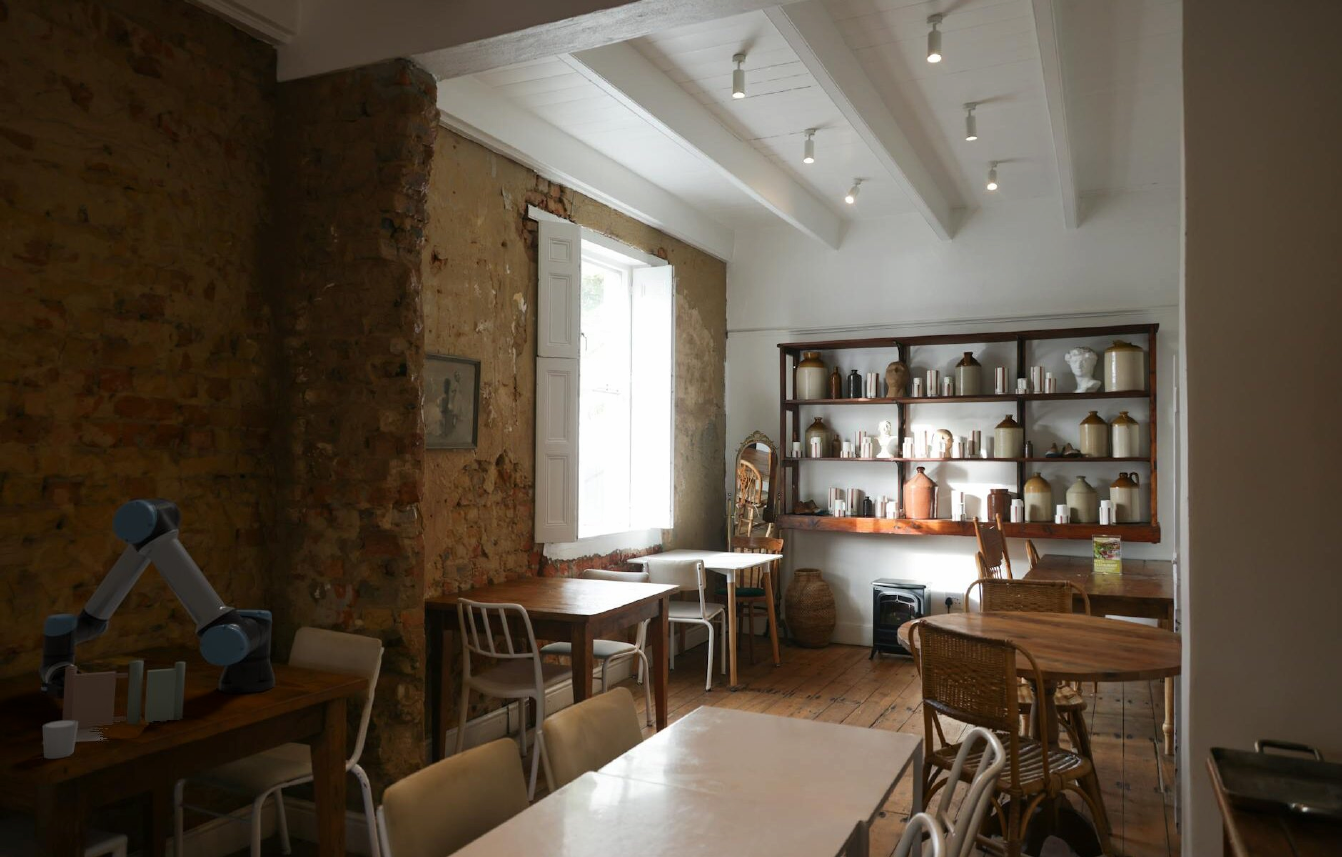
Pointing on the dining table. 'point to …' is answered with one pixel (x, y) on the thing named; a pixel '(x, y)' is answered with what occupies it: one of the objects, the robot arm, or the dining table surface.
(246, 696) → the dining table surface
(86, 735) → the card
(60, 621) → the robot arm
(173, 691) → the fence post and fixed panel
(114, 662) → the dining table surface
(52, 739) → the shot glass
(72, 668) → the gate panel
